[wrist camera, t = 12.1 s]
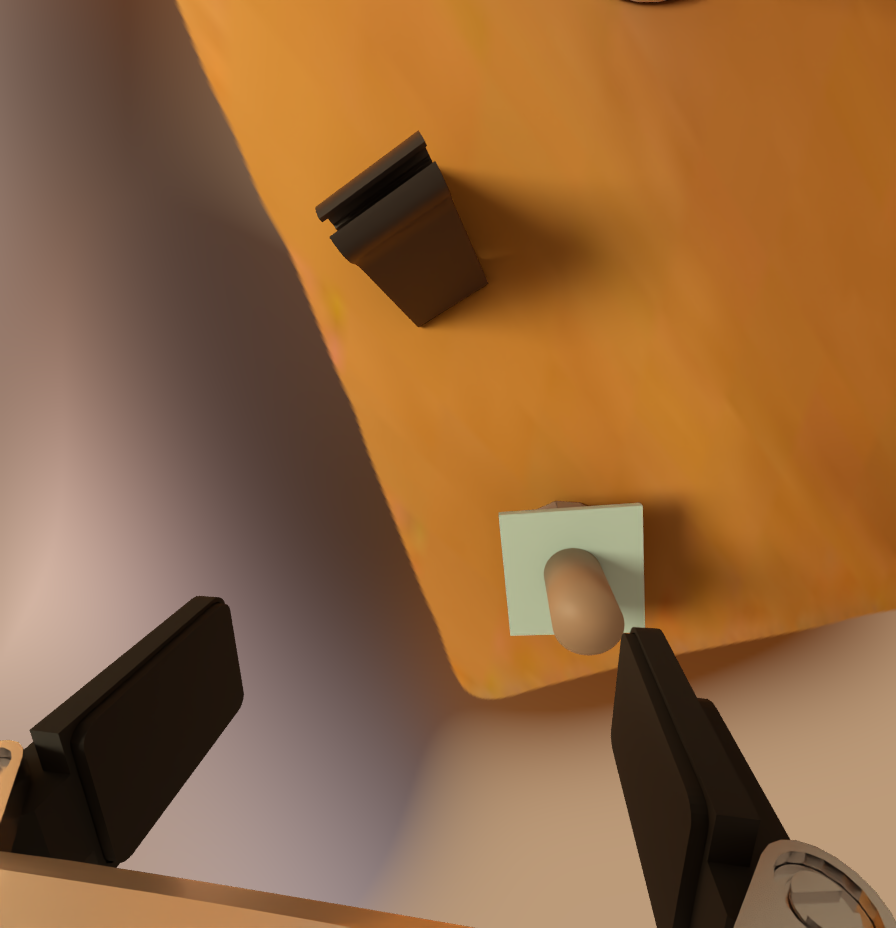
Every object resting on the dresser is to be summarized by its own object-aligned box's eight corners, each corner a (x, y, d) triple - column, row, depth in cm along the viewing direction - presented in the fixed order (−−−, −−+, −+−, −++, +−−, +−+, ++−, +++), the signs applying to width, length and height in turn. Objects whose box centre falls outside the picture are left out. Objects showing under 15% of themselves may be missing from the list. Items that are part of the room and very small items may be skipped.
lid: (498, 512, 31) (496, 552, 25) (640, 502, 30) (676, 542, 23) (510, 630, 33) (511, 695, 27) (642, 627, 32) (676, 694, 26)
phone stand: (488, 284, 32) (478, 245, 20) (418, 327, 33) (371, 313, 22) (427, 165, 31) (379, 50, 19) (356, 215, 32) (271, 136, 20)
